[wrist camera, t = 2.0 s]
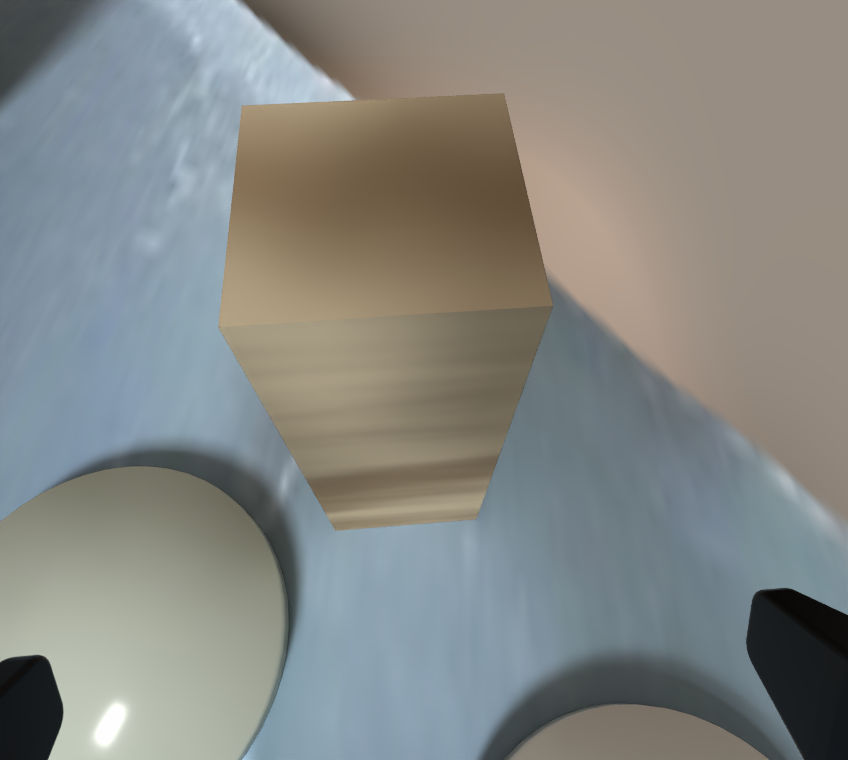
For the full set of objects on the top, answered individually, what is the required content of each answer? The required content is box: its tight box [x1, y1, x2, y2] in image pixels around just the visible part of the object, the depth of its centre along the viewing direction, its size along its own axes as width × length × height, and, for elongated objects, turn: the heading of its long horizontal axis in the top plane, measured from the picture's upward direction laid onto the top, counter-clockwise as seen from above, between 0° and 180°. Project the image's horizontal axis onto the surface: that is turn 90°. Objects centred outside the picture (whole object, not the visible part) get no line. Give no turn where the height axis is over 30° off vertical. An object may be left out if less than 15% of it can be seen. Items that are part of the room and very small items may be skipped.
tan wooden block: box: [218, 94, 553, 531], centre depth 15 cm, size 5×5×13 cm
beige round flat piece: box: [0, 466, 289, 760], centre depth 17 cm, size 11×11×1 cm
